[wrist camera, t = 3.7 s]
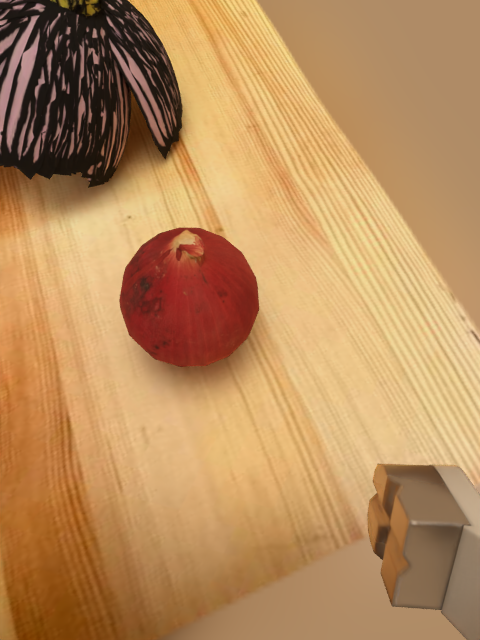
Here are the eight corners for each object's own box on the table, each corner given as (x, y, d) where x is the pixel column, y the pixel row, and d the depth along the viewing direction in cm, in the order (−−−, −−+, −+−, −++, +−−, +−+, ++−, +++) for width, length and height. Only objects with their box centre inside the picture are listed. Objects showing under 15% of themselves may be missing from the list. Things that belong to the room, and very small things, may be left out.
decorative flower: (60, 104, 16) (-275, -194, 15) (37, 279, 25) (-172, 95, 24) (262, 23, 25) (54, -166, 24) (190, 173, 34) (39, 38, 33)
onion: (159, 408, 21) (125, 339, 14) (122, 306, 23) (76, 202, 16) (271, 362, 22) (294, 277, 15) (226, 270, 24) (227, 157, 17)
